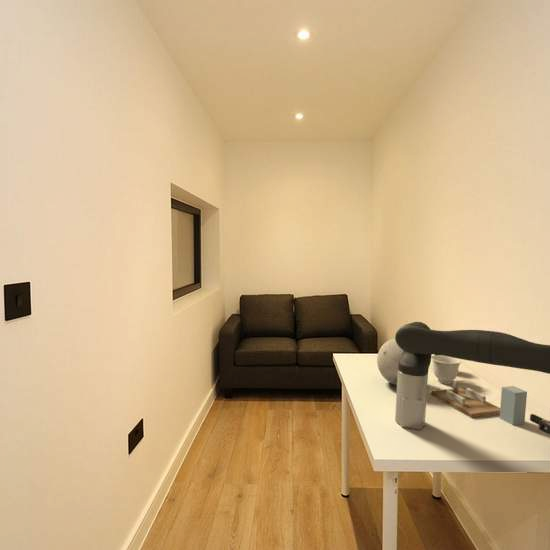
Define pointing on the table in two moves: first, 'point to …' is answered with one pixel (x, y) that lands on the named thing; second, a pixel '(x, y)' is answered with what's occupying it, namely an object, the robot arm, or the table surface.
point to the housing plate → (467, 401)
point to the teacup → (445, 368)
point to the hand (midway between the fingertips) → (541, 415)
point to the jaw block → (513, 405)
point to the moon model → (389, 360)
